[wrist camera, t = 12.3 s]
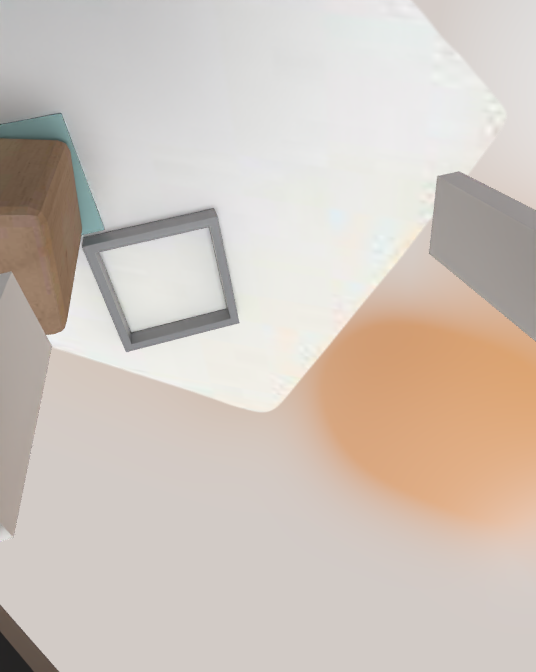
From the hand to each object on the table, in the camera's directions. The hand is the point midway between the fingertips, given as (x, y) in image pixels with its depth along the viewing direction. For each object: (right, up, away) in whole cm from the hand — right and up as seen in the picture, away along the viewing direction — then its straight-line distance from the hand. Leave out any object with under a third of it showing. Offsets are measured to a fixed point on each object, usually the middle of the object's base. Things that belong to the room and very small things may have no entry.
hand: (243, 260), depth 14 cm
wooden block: (-24, +13, +32) cm, 42 cm away
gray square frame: (-12, +5, +42) cm, 44 cm away
